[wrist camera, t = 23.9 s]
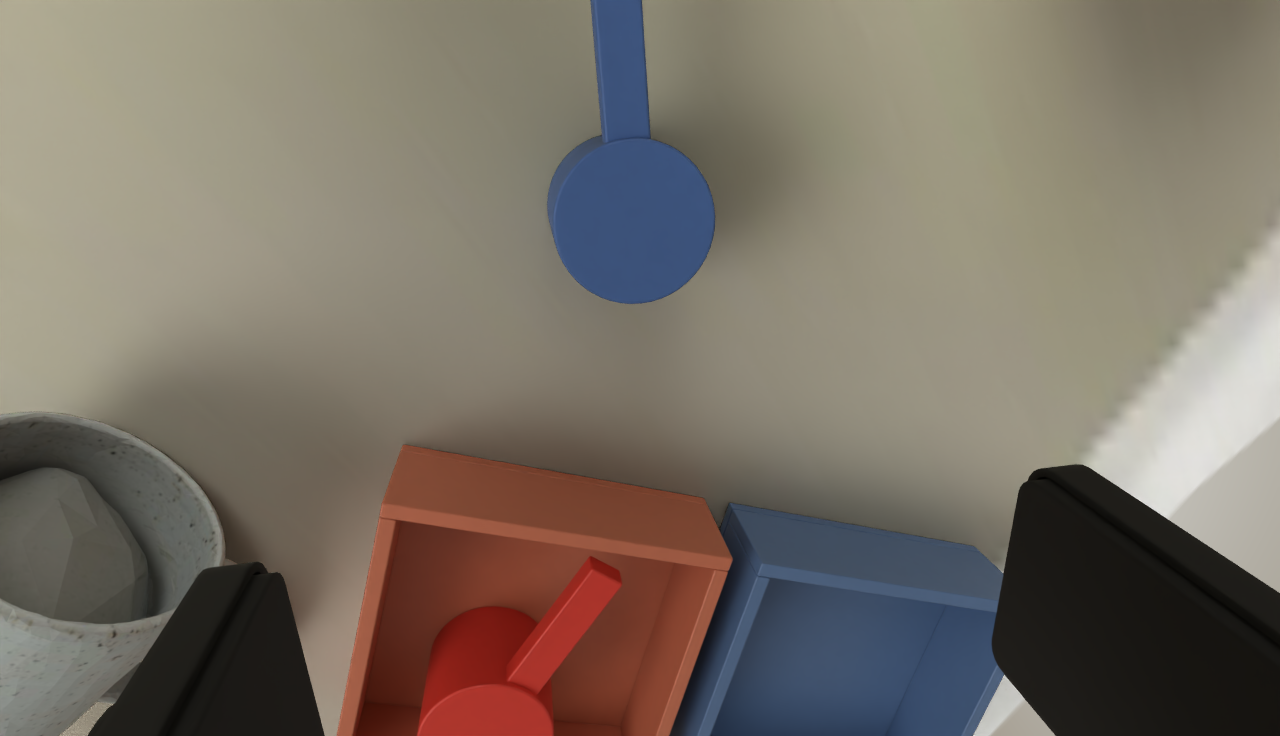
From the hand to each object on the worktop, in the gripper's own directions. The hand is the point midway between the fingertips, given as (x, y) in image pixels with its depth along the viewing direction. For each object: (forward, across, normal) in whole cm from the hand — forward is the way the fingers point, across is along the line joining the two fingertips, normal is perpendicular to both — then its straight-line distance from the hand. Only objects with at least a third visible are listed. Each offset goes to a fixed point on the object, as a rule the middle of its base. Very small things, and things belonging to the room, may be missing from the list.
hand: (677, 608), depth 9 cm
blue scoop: (+16, -1, -5) cm, 17 cm away
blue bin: (+15, -9, +16) cm, 23 cm away
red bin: (+16, +3, +12) cm, 20 cm away
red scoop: (+15, +3, +12) cm, 19 cm away
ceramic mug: (+16, +16, +8) cm, 23 cm away
